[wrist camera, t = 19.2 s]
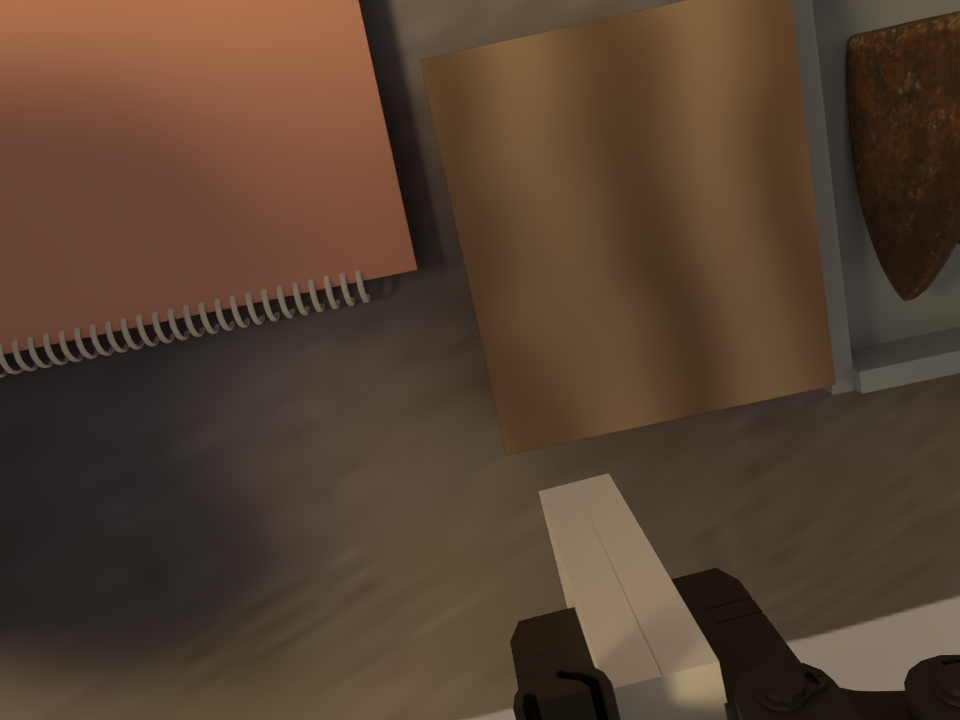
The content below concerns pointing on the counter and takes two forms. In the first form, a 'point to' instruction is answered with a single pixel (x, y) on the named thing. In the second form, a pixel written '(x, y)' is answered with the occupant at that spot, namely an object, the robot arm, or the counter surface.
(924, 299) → the bin
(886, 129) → the clothes iron
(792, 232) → the walnut stand
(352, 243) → the notebook
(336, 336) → the counter surface
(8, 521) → the counter surface
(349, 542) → the counter surface
